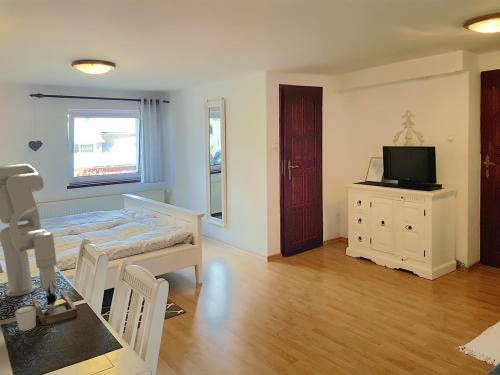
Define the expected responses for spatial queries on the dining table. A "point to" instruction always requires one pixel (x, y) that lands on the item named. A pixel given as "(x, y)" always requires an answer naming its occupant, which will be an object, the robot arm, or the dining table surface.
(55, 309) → the counterweight
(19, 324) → the white cylinder
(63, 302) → the yellow square block
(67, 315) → the brown wooden tray
